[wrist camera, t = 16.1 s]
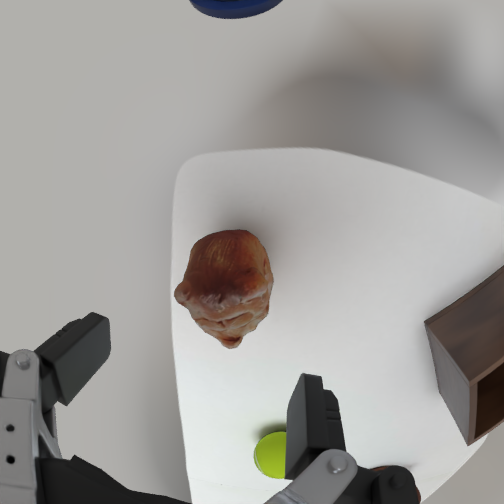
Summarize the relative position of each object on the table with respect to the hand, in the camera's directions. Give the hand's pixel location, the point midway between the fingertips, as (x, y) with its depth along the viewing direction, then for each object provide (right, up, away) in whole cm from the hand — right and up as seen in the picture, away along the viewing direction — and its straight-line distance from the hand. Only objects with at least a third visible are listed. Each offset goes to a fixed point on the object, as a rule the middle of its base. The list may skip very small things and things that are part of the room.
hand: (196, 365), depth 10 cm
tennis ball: (+6, -21, +23) cm, 32 cm away
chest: (+31, -5, +15) cm, 35 cm away
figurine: (+2, +5, +16) cm, 17 cm away
